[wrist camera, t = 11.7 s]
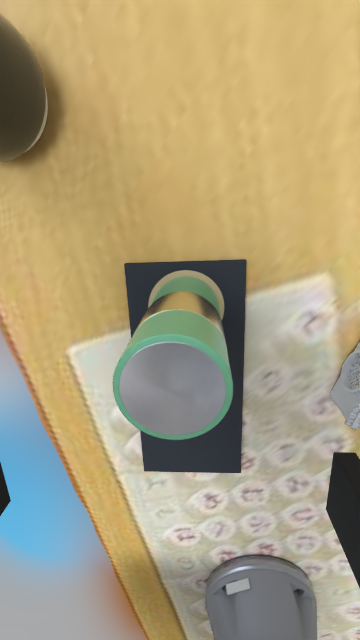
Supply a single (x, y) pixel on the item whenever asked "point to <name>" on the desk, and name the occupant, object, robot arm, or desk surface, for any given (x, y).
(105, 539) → the desk surface
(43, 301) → the desk surface
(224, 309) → the mat
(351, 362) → the garden wall model
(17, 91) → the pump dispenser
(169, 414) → the can
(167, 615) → the desk surface
